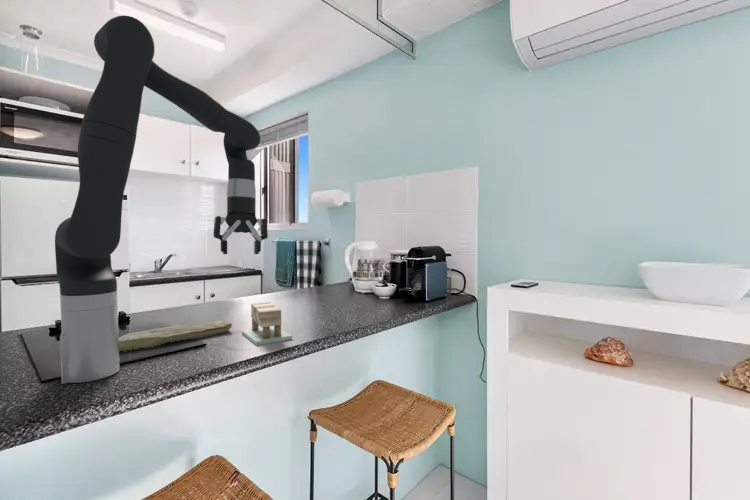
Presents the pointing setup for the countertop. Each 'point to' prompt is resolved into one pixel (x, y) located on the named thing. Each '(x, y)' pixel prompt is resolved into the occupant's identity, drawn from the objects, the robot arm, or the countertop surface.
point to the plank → (266, 314)
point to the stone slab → (171, 334)
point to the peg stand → (265, 334)
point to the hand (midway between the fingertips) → (241, 254)
